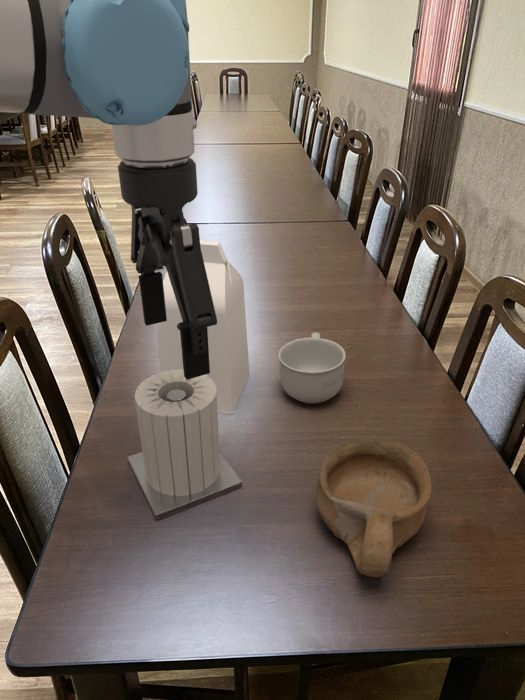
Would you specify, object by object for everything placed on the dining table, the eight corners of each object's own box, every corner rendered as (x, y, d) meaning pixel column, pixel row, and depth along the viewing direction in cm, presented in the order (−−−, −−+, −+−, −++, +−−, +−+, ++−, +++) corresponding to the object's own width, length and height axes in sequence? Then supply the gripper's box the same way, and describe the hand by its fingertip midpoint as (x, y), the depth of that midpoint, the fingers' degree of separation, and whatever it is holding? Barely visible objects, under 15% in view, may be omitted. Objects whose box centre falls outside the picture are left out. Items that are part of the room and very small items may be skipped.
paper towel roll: (160, 506, 67) (150, 425, 61) (136, 458, 75) (124, 381, 68) (232, 479, 72) (229, 400, 65) (202, 436, 79) (197, 362, 72)
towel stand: (156, 520, 67) (145, 437, 60) (128, 461, 76) (115, 383, 69) (242, 487, 72) (241, 406, 65) (206, 435, 81) (201, 359, 74)
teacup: (332, 418, 85) (336, 376, 80) (268, 403, 88) (268, 362, 84) (352, 373, 96) (356, 334, 92) (294, 361, 99) (296, 323, 95)
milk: (161, 404, 87) (144, 252, 74) (185, 366, 97) (174, 226, 84) (232, 414, 85) (228, 260, 72) (249, 375, 95) (248, 232, 81)
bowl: (470, 584, 58) (463, 525, 53) (343, 614, 59) (324, 560, 54) (416, 467, 73) (407, 412, 68) (316, 493, 74) (300, 441, 69)
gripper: (250, 183, 44) (252, 392, 55) (152, 135, 63) (168, 298, 74) (163, 194, 41) (183, 413, 52) (87, 140, 60) (114, 310, 71)
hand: (174, 346), depth 63 cm, fingers open, 13 cm apart
